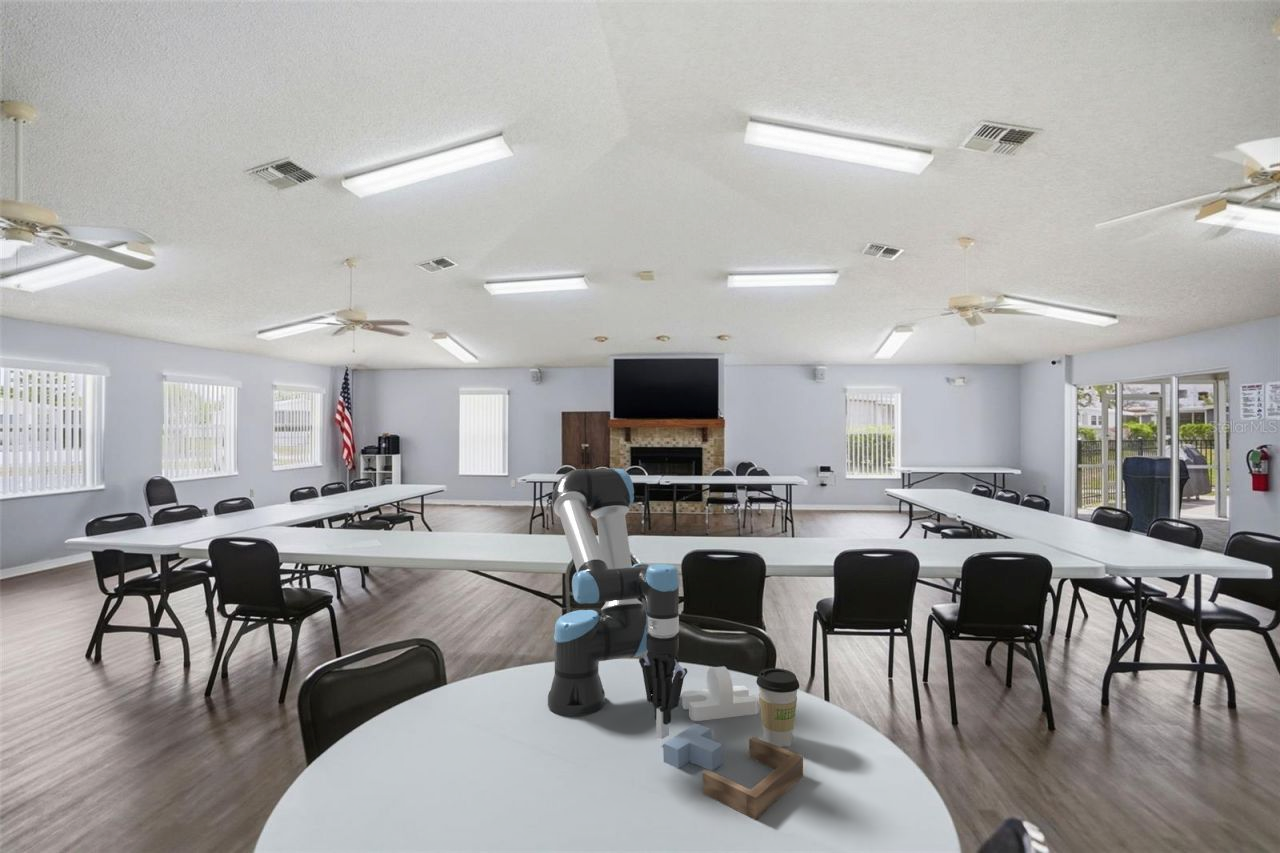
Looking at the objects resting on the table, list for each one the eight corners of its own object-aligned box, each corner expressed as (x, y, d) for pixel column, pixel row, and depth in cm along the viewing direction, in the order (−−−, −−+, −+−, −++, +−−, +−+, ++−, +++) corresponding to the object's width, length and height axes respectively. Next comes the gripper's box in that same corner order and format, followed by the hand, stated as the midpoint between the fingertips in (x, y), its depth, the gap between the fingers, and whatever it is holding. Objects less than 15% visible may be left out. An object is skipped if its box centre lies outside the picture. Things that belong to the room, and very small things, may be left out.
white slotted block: (681, 705, 153) (681, 664, 154) (744, 698, 158) (744, 658, 158) (692, 722, 144) (692, 678, 144) (759, 714, 148) (759, 672, 149)
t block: (663, 762, 126) (663, 743, 126) (696, 740, 135) (696, 723, 135) (700, 779, 119) (700, 759, 119) (732, 755, 128) (732, 737, 128)
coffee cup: (801, 753, 129) (800, 685, 130) (756, 748, 131) (756, 682, 132) (798, 731, 139) (798, 668, 139) (756, 727, 141) (756, 665, 141)
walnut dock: (702, 793, 115) (702, 772, 115) (752, 754, 129) (752, 736, 129) (755, 820, 107) (755, 797, 107) (803, 775, 121) (803, 756, 121)
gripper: (631, 630, 136) (631, 732, 135) (674, 643, 127) (674, 752, 127) (651, 623, 142) (652, 721, 141) (694, 635, 133) (695, 739, 132)
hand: (662, 736), depth 134 cm, fingers closed
